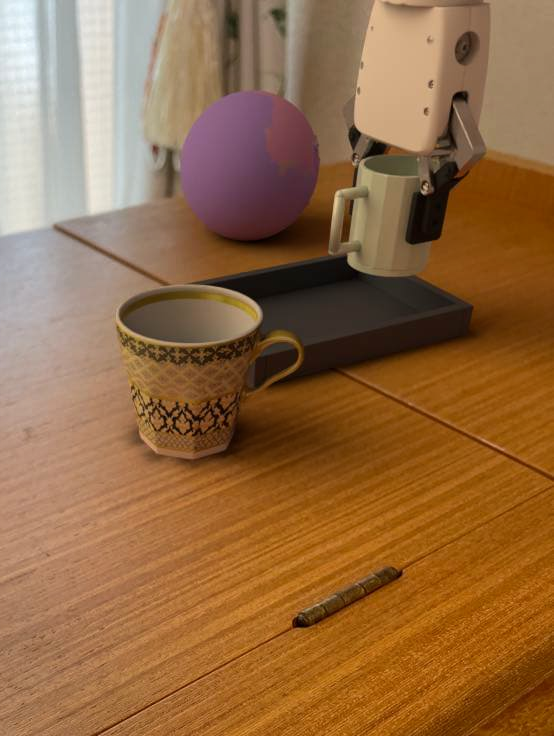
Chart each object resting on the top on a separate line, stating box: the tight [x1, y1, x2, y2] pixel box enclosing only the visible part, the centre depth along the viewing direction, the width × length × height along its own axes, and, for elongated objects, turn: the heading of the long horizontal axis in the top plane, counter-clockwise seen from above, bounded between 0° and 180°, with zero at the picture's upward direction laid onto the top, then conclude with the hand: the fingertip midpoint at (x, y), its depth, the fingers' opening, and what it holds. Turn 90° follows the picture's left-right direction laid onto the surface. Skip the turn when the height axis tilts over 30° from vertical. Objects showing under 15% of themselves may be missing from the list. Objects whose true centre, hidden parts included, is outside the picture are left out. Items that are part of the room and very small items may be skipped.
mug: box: [327, 153, 440, 277], centre depth 72 cm, size 10×7×8 cm
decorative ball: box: [179, 89, 321, 242], centre depth 94 cm, size 15×15×15 cm
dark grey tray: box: [181, 254, 475, 388], centre depth 79 cm, size 22×16×3 cm
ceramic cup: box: [114, 283, 305, 460], centre depth 61 cm, size 13×10×10 cm
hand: (393, 225), depth 73 cm, fingers closed on mug, 6 cm apart
